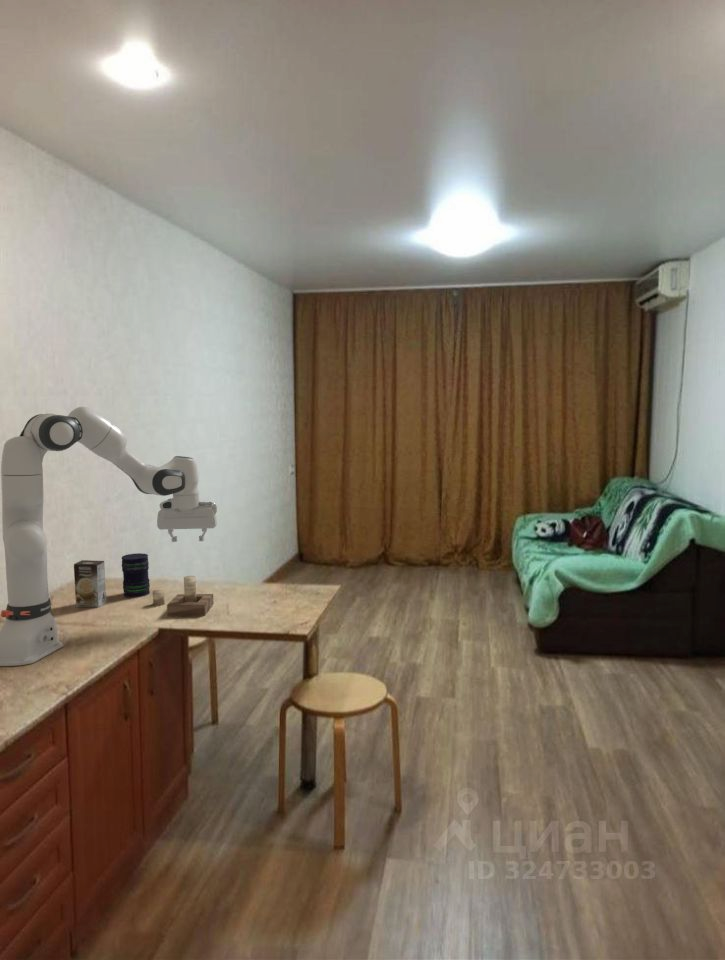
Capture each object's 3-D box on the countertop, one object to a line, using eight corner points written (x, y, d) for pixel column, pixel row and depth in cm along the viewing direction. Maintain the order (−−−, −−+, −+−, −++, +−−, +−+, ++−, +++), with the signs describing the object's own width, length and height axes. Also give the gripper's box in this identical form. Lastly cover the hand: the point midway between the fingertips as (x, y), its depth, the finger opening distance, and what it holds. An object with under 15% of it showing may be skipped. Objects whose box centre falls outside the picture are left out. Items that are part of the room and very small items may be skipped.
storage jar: (139, 598, 259) (137, 559, 258) (117, 596, 262) (115, 558, 261) (155, 591, 269) (153, 554, 267) (134, 589, 272) (132, 552, 270)
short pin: (162, 605, 249) (162, 592, 249) (151, 605, 249) (151, 592, 249) (166, 602, 253) (165, 589, 253) (155, 602, 253) (154, 589, 253)
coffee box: (75, 607, 249) (72, 564, 247) (83, 602, 255) (81, 560, 254) (99, 607, 248) (96, 564, 246) (107, 602, 254) (104, 560, 253)
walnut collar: (204, 615, 237) (204, 604, 236) (167, 616, 237) (166, 604, 236) (213, 604, 249) (213, 593, 249) (178, 605, 250) (177, 594, 249)
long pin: (193, 612, 241) (191, 578, 239) (183, 611, 242) (181, 578, 240) (198, 609, 244) (197, 576, 243) (189, 608, 246) (187, 575, 244)
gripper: (217, 500, 242) (219, 538, 244) (159, 501, 242) (161, 540, 243) (214, 502, 236) (216, 542, 238) (154, 504, 235) (156, 543, 237)
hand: (188, 541), depth 240 cm, fingers open, 8 cm apart
